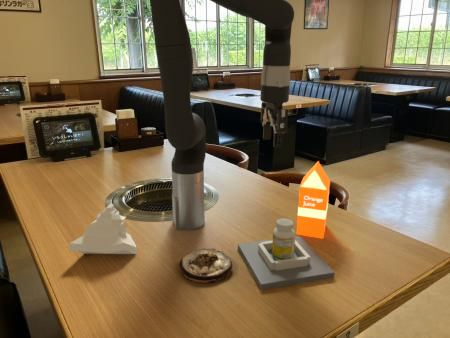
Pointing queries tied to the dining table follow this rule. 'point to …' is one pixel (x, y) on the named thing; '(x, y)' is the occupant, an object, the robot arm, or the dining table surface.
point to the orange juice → (313, 203)
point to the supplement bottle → (283, 240)
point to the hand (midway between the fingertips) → (271, 143)
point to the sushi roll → (206, 265)
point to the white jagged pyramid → (105, 235)
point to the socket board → (284, 264)
